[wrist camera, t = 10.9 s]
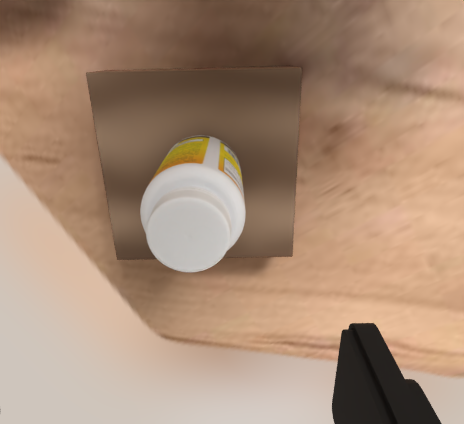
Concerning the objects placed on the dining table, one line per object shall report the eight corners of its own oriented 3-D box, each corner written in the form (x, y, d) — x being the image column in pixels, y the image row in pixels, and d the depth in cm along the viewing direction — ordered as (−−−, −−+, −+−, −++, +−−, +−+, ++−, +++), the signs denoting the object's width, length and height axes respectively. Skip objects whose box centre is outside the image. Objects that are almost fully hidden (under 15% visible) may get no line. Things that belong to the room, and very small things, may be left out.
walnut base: (105, 70, 27) (86, 72, 24) (292, 66, 27) (302, 68, 24) (130, 236, 33) (117, 259, 29) (285, 233, 33) (292, 256, 29)
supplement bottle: (152, 188, 27) (110, 260, 17) (182, 119, 25) (154, 158, 15) (220, 219, 28) (215, 303, 18) (255, 155, 26) (269, 212, 16)
